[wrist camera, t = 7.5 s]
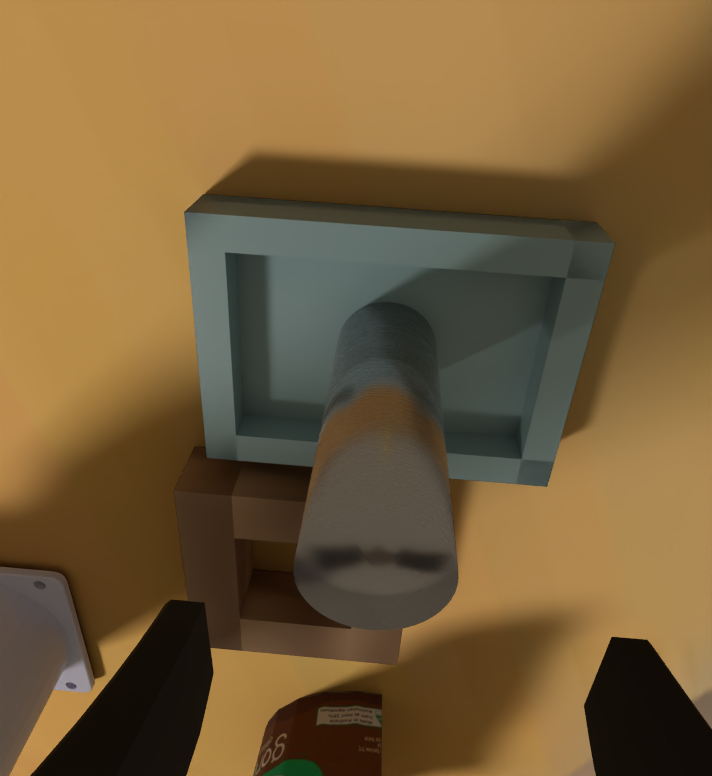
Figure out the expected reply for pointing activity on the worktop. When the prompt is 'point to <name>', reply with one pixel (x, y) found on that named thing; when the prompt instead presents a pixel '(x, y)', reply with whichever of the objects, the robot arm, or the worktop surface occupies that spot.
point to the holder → (235, 563)
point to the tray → (399, 285)
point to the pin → (380, 480)
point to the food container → (324, 737)
